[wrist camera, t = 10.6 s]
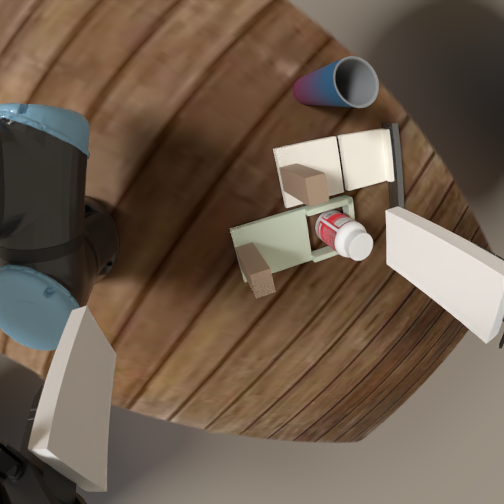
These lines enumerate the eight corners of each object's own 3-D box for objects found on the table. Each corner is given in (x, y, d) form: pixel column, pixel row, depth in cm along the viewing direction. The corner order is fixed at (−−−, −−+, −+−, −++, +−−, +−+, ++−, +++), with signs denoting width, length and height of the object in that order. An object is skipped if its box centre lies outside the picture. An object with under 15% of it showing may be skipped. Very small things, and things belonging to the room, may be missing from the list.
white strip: (345, 189, 52) (352, 192, 50) (337, 135, 48) (344, 136, 45) (386, 178, 53) (394, 181, 51) (381, 128, 49) (389, 129, 47)
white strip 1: (284, 206, 50) (312, 227, 40) (273, 148, 46) (300, 155, 36) (340, 190, 52) (377, 207, 42) (332, 136, 47) (370, 141, 37)
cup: (332, 95, 45) (387, 90, 31) (305, 118, 45) (355, 118, 32) (308, 64, 42) (358, 47, 28) (279, 87, 42) (322, 73, 29)
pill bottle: (330, 245, 56) (361, 271, 46) (307, 230, 54) (337, 254, 44) (348, 219, 55) (383, 240, 45) (327, 202, 52) (361, 221, 43)
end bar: (390, 232, 59) (399, 237, 56) (381, 122, 49) (391, 123, 46) (395, 230, 59) (404, 235, 56) (387, 122, 49) (397, 123, 46)
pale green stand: (243, 279, 54) (260, 314, 44) (229, 228, 50) (244, 256, 40) (350, 243, 57) (383, 267, 47) (345, 194, 52) (382, 212, 42)
